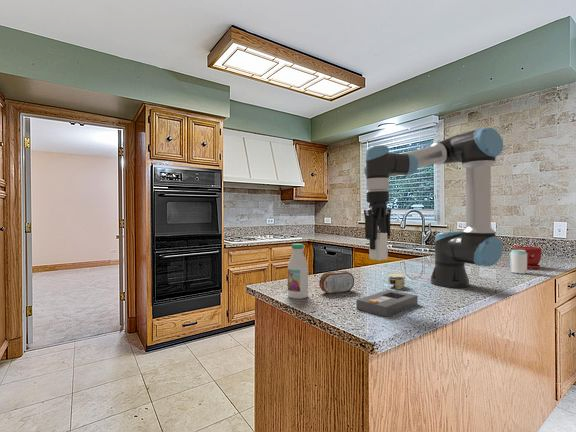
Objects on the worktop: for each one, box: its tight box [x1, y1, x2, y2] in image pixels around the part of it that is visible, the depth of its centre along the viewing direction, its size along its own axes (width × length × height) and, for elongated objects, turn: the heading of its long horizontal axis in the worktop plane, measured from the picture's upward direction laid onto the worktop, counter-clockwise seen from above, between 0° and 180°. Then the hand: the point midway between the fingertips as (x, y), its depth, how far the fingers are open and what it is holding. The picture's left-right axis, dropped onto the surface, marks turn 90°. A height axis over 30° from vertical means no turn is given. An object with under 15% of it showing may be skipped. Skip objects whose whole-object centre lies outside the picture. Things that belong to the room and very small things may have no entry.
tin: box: [318, 270, 355, 295], centre depth 125 cm, size 15×3×8 cm, turn 113°
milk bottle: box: [287, 243, 309, 300], centre depth 119 cm, size 8×8×20 cm
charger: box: [368, 229, 389, 261], centre depth 109 cm, size 4×4×10 cm
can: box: [509, 250, 528, 275], centre depth 163 cm, size 7×7×12 cm
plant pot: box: [511, 246, 542, 270], centre depth 178 cm, size 13×13×12 cm
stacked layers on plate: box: [387, 273, 406, 290], centre depth 133 cm, size 10×9×6 cm
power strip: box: [355, 289, 419, 318], centre depth 106 cm, size 20×11×4 cm, turn 131°
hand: (378, 257), depth 109 cm, fingers closed on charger, 4 cm apart
